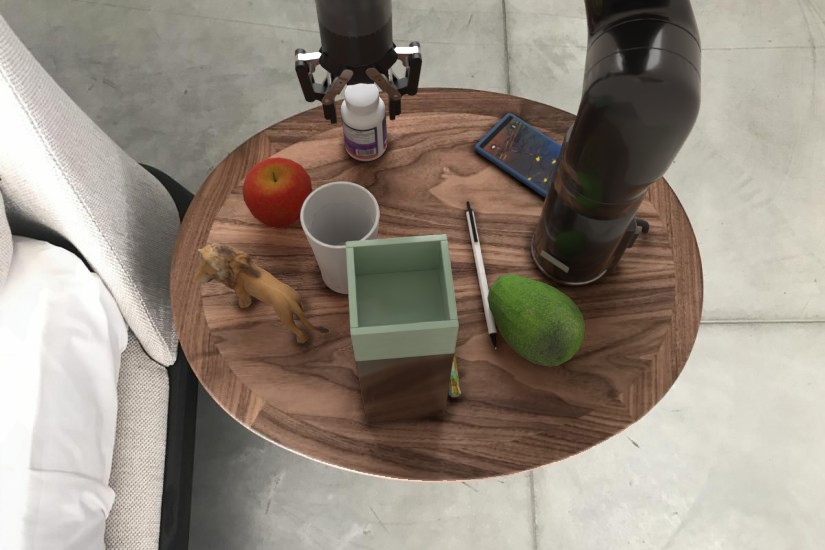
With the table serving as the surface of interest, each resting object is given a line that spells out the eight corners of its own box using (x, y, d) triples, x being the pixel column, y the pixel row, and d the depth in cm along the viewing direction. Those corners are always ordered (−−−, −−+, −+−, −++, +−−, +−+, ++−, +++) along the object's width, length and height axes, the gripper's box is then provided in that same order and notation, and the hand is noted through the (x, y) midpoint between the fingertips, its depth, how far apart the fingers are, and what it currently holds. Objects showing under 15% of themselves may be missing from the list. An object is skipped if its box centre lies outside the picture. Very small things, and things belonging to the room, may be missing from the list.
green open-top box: (436, 342, 79) (446, 233, 58) (444, 415, 75) (459, 326, 54) (362, 349, 79) (345, 241, 58) (366, 422, 75) (350, 335, 54)
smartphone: (509, 110, 93) (606, 172, 89) (508, 114, 94) (605, 176, 89) (472, 146, 90) (570, 212, 86) (472, 150, 91) (569, 216, 87)
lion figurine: (203, 303, 81) (180, 265, 73) (227, 265, 83) (208, 225, 75) (319, 353, 79) (309, 319, 71) (341, 312, 81) (333, 275, 73)
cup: (374, 306, 81) (369, 254, 70) (306, 293, 82) (290, 240, 71) (389, 246, 85) (387, 188, 74) (323, 234, 85) (312, 175, 75)
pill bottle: (364, 121, 93) (359, 68, 85) (395, 143, 92) (394, 90, 83) (335, 147, 91) (328, 95, 83) (368, 169, 90) (363, 119, 81)
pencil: (429, 251, 84) (449, 398, 76) (429, 246, 83) (449, 395, 75) (440, 250, 84) (461, 397, 76) (440, 245, 84) (461, 393, 75)
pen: (471, 203, 87) (471, 198, 86) (499, 349, 79) (500, 346, 78) (463, 204, 87) (464, 199, 86) (491, 350, 79) (492, 347, 78)
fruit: (570, 385, 77) (492, 324, 84) (612, 323, 76) (529, 267, 83) (538, 377, 70) (456, 312, 77) (583, 310, 69) (495, 250, 76)
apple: (239, 203, 87) (225, 165, 80) (296, 174, 89) (287, 134, 82) (270, 250, 84) (257, 214, 77) (328, 218, 86) (321, 181, 79)
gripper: (281, 38, 70) (303, 145, 84) (429, 29, 70) (425, 137, 85) (281, -16, 73) (302, 96, 88) (422, -24, 74) (419, 88, 88)
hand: (363, 116), depth 86 cm, fingers open, 6 cm apart
